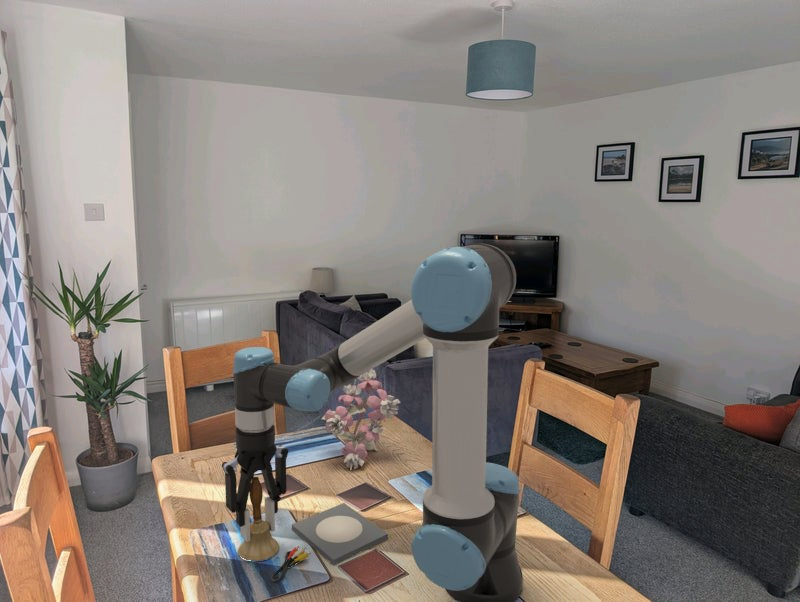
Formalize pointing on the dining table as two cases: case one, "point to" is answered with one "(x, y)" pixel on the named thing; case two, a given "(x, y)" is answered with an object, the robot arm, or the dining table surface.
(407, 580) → the dining table surface
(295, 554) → the composite cable
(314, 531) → the board
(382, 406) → the flower
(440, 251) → the robot arm
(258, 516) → the hand bell
